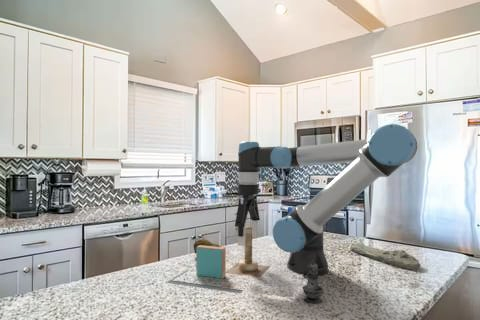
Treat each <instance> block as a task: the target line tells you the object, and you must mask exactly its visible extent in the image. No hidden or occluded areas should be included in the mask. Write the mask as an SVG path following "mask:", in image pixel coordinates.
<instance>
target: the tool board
mask: <svg viewBox="0 0 480 320" xmlns="http://www.w3.org/2000/svg"><path fill="white" fill-rule="evenodd" d="M270 267H271V266H270V265H262V264H258V270H257V271H256V272H242V271H240V270H239V262H237V263H236V264H234V265H233V266H232V267H230V268H229V269H228V270H226V274H232V275H239V276H241V275H242V276H249V277H254V278H255V277H256V278H261V277H262V276H263V275H264V274H265V272H267V270H268V269H269V268H270Z"/></svg>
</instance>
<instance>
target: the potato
mask: <svg viewBox="0 0 480 320" xmlns="http://www.w3.org/2000/svg"><path fill="white" fill-rule="evenodd" d="M199 245H203V246H214V247H222V246H221V245H219V244H217V243H213V242H211V241H209V240H208V239H198V240H196V241H194V243H193V250H194V251H193V252H194V254H196V255H197V246H199Z"/></svg>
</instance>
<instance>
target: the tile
mask: <svg viewBox="0 0 480 320" xmlns="http://www.w3.org/2000/svg"><path fill="white" fill-rule="evenodd" d="M226 250H227V249H226V247H223V246H221V247H214V246H203V245H199V246H197V254H196V259H195V260H196V265H195V266H196V267H195V268H196V271H195V272H196V276H200V277H208V278H218V279H224V278H225V277H226V274H227V273H226V272H227V270H226V268H227V267H226V265H227V263H226V261H227V260H226V259H227V258H226V255H227V254H226Z"/></svg>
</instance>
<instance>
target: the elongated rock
mask: <svg viewBox="0 0 480 320" xmlns="http://www.w3.org/2000/svg"><path fill="white" fill-rule="evenodd" d="M350 251H351V252H354V253H357V254H359V255H361V256H362V257H363V256H364V257H367V258H369V259H371V260H375V261H379V262H382V263H384V264H386V265H390V266H393V267H396V268H402V269H408V270H418V269H420V267H421V263H420V262H419V260H418V259H417V258H416V257H414V256H413V255H410V254H408V253H407V252H406V251H405V250H404V249H401V250H400V249H399V250H396V249H394V250H383V249H380V248H376V247H372V246H369V245H366V244H363V243H354V244H351V245H350Z"/></svg>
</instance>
